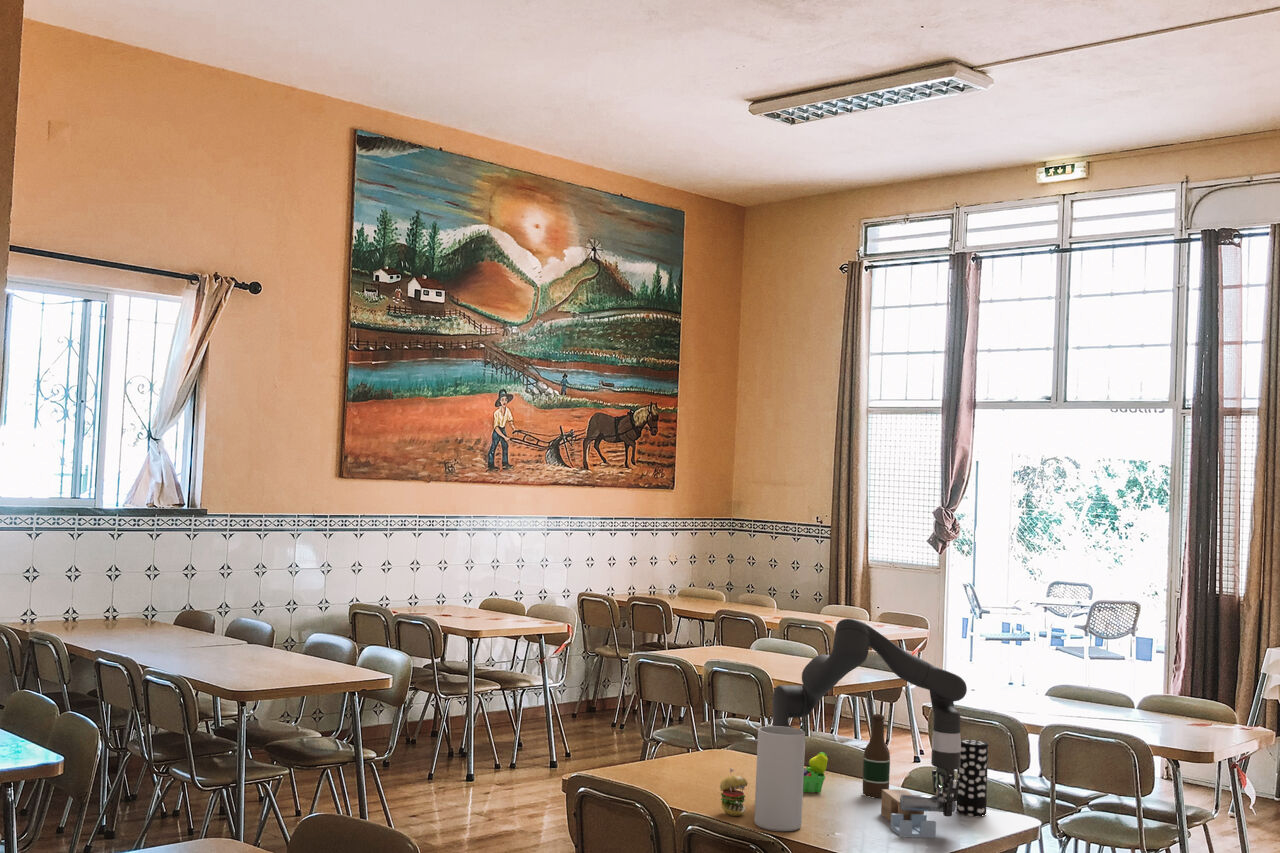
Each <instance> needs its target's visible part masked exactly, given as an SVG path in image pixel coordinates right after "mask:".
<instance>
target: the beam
mask: <svg viewBox="0 0 1280 853" xmlns="http://www.w3.org/2000/svg"><path fill="white" fill-rule="evenodd" d="M901 795H913V794H912V793H911V792H909V791H908V790H907V789H890V788H889V789H882V798H881V805H880V806H881V807H880V809H881V810H880V814H881V816H883V817H884V816H885V817H884V818H886V819H887V820H888V821H889V820H890V821H889V822H891V813H894V814H903V820H911V814H925V811H903V810H901V807H900V797H901Z"/></svg>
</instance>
